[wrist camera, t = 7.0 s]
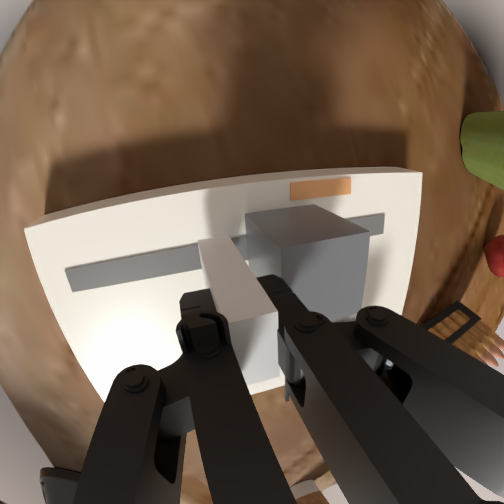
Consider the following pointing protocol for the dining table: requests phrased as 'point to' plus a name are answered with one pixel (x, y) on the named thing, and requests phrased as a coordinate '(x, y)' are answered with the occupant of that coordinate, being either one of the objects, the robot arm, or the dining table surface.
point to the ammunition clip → (467, 333)
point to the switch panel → (188, 258)
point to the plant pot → (484, 146)
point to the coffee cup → (308, 493)
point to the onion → (495, 255)
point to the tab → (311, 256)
